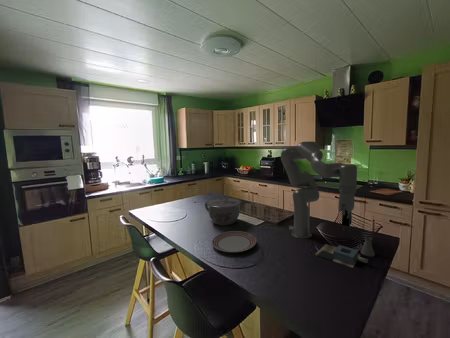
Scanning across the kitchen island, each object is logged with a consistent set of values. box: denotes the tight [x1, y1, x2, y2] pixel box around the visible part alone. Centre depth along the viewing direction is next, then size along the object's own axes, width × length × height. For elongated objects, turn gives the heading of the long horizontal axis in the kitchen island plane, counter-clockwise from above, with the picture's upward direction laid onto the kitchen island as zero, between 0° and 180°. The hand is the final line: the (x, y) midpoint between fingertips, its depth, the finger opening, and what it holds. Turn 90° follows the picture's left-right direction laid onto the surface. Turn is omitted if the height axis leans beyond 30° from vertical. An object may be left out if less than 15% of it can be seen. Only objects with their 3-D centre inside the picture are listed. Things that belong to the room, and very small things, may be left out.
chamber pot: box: [204, 196, 242, 226], centre depth 166 cm, size 28×28×21 cm
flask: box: [360, 236, 376, 257], centre depth 112 cm, size 7×7×10 cm
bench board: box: [314, 243, 362, 269], centre depth 112 cm, size 18×16×1 cm
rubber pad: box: [316, 250, 333, 262], centre depth 112 cm, size 7×7×1 cm
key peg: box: [342, 211, 351, 232], centre depth 106 cm, size 3×3×10 cm
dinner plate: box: [211, 230, 257, 253], centre depth 130 cm, size 28×27×3 cm
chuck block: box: [333, 244, 369, 265], centre depth 107 cm, size 14×9×4 cm, turn 45°
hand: (346, 224), depth 107 cm, fingers closed on key peg, 3 cm apart
